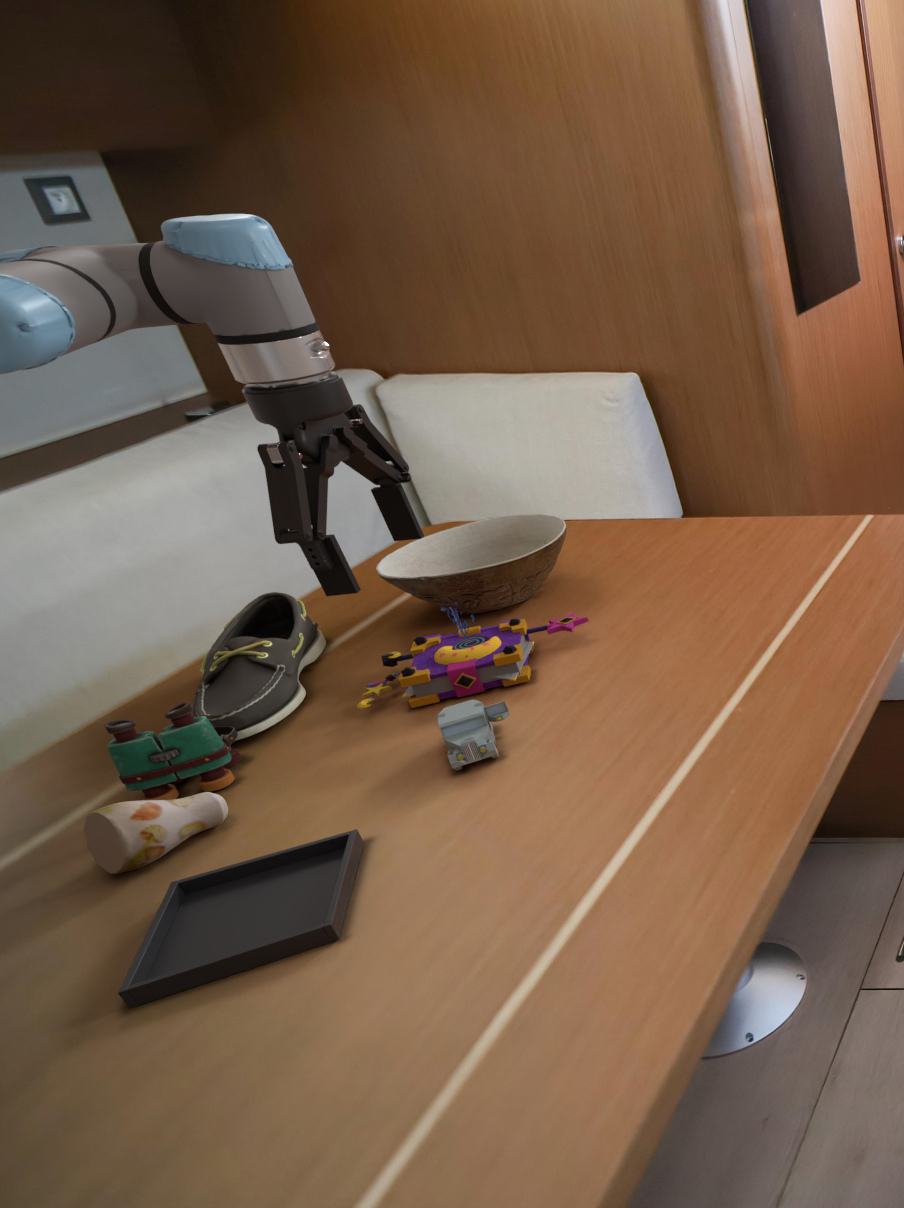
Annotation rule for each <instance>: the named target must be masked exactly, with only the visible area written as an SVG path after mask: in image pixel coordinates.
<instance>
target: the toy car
mask: <svg viewBox="0 0 904 1208" xmlns="http://www.w3.org/2000/svg"><path fill="white" fill-rule="evenodd" d="M436 716H437V724H438V729H439V731H440V733H441V736H442V739H443V741H444V744H445V745H446V748H447V750H448V751H447V753H446V755H447V759H448V762H449V764H450V767H451V769H452V770H453V769H454V771H461V770H463V767H464V766H465V765H468V764H469V765H470V764H473V763H476V762H478V761H481V760H485V759H487V758H492V759H497V758H499V757H500V754H499V750H498V745H497V741H496V736H495V733H494V727H493V725H492V723H498V722H502V721H504V720H506V719H507V718H508V717H510V716H511V713H510V711H509V708H508V706H507V703H506V701H505V700H503V701H500V702H495V703H493V704H489V705H484V702H483V701H479V700H477V699H469V700H466V701H463V702H459V703H456V704H452V705H449V706H446V707H443V709H441V711H439V713H438V714H437V715H436Z"/></svg>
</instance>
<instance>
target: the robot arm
mask: <svg viewBox="0 0 904 1208" xmlns="http://www.w3.org/2000/svg"><path fill="white" fill-rule="evenodd" d="M160 230H161V232H162V240H159V241H153V242H152V241H151V242H143V243H142V242H139V243H114V244H113V243H112V244H85V245H62V244H47V245H43V246H38V247H30V248H21V249H11V250H10V249H9V250H7V251H3V252H1V253H0V375H5V374H6V375H7V374H12V373H14V372H15V373H16V372H19V371H25V370H33V369H37V368H40V367H43V366H46V365H48V364H50V363H52V362H54V361H55V360H57V359H59V358H61V357H63V356H65V355H68V354H71V353H73V352H76V351H77V350H80V349H83V348H85V347H88V346H90V345H93V344H96V343H98V342H101V341H104V340H106V339H110V338H111V337H114V336H117V335H120V334H122V333H125V332H128V331H132V330H136V329H146V328H147V329H148V328H158V327H168V326H180V325H185V326H186V325H197V324H202V323H206V324H207V327H208V328H209V329H210V331H211V332H212V334H213V336H214V338H215V340H216V342H217V345H218V346H219V349H220V351H221V353H222V355H223V357H224V359H225V362H226V363H227V366H228V368H229V370H230V372H231V374H232V376H233V379H234V380H235V381H236V382H238V383H241V384H245V385H244V386H243V388H242V389H241V393H242V395H243V397H244V398H245V400H246V403H247V405H248V407H249V408H250V411H251V413H252V415H253V417H254V418H255V420H256V421H257V422H259V423H260V424H264V425H269V426H272V427H273V428H275V430H276V432H277V435H278V442H271V443H260V444H258V445H257V447H256V450H257V453H258V455H259V458H260V460H261V463H262V465H263V468H264V473H265V479H266V480H265V481H266V487H267V493H268V501H269V507H270V515H271V521H272V528H273V529H272V530H273V536H274V540H275V542H276V543H277V544H278V545H287V544H288V545H289V544H297V545H298V546H299V547H300V550H301V552H302V553H303V555H304V557H305V559H306V561H307V562H308V565H309V567H310V568H311V570H312V571H313V573H314V575H315V577H316V579H317V581H318V582H319V585H320V586H321V588H322V590H323V593H324V594H325V596H326V597H334V596H335V597H336V596H343V595H352V594H353V595H354V594H358V593H359V592H360V591H362V589H361V586H360V584H359V583H358V581H357V578H356V576H355V575H354V572H353V571H352V568H351V566H350V564H349V562H348V560H347V558H346V556H345V554H344V552H343V550H342V548H341V546H340V543H339V542H338V540H337V538H336V535H335V534H333V533H332V534H327V526H328V525H327V523H328V521H327V520H328V499H329V496H328V495H329V479H330V478H331V477H333V476H334V474H335V468H337V467H338V466H339V465H340V463H341V462H342V463H343V464H344V465H346V466H348V467H349V468H350V469H352V470H353V471H354V472H356V473H357V474H359V475H360V476H362V477H363V478H365V479H366V480H367V481H369V482H371V483H372V484H373V485H375V486H376V487H375V486H374V487H373V488H371V489H370V492H371V494H372V496H373V498H374V501H375V503H376V504H377V507H378V509H379V511H380V514H381V517H382V518H383V520H384V523H385V524H386V527H387V529H388V531H389V533H390V535H391V537H392V540H393V541H394V542H401V541H414V540H418V539H421V538H424V537H425V534H424V532H423V530H422V527H421V525H420V523H419V521H418V518H417V516H416V514H415V512H414V510H413V508H412V505H411V503H410V501H409V498H408V496H407V493H406V491H405V489H404V486H403V484H407V483H408V484H409V483H412V482H411V481H412V476H411V474H410V472H409V471H410V466H409V464H408V462H407V461H406V460H405V459H404V458H403V457H402V456H401V454H400V453H399V452H398V451H397V450H396V448H395V447H394V446H393V445H392V444H391V443H390V442H389V441H388V440H387V438H386V437H385V436H384V434H383V433H381V432H380V430H379V429H378V428H377V427H376V425H375V424H374V423H373V422H372V421H371V419H370V417H369V415H368V413H367V412H366V410H365V407H364V406H363V405H362V404H360V403H356V404H354V402H353V399H352V397H351V395H350V392H349V390H348V388H347V386H346V384H345V382H344V379H343V377H342V375H340V374H339V373H337V372H335V371H332V370H333V369H334V368H335V367H336V363H335V361H334V359H333V356H332V354H331V352H330V350H331V346H330V344H329V343H328V342H326V341H325V339H324V336H323V335H322V332H321V331H320V327H319V324H318V322H317V321H316V318H315V316H314V314H313V311H312V309H311V306H310V304H309V302H308V299H307V297H306V295H305V293H304V290H303V288H302V286H301V283H300V280H299V279H298V276H297V273H296V270H295V269H294V264H293V261H292V259H291V258H290V257H289V256H288V254H287V252H286V251H285V248H284V246H283V245H282V243H281V241H280V240H279V237H278V235H277V234H276V232H275V230H274V227H273V226H272V225H271V224H270V223H269V222H268V221H267V220H266V219H264V218H263V217H261V216H259V215H254V214H249V213H248V214H247V213H219V214H211V215H193V216H181V217H176V218H175V217H174V218H170V219H167V220H164V221H163V222H162V223H161V225H160Z"/></svg>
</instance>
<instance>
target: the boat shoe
mask: <svg viewBox="0 0 904 1208" xmlns="http://www.w3.org/2000/svg"><path fill="white" fill-rule="evenodd" d="M318 627H319V624H318V623H317V622H315V621H313V620H312V619H311V618H310V616H309V615H308V614H307V610H306V607H305V604H304V602H303V601H302V600H300V599H297V598H296V597H295V596H292V595H290V594H288V593H284V592H277V591H272V592H267V593H264V594H263V593H262V594H260V595H258V596H257V597H256V598H254V599H253V600H252V601H250V602H249V603H247V604H246V605H245V606H244V607H243V608H242V609H241V610H240V611H239V612H237V613H236V615H234V616H233V617H231V619H230V620H229V621H228V622H227V623H226V624H225V625H224V626H223V630H222V632H221V633H220V634H219V636H218V637H217V638H216V640H215V642H214V643H213V644H212V645H211V647H210V649H209V651H207V652H206V654H205V655H204V656H203V660H202V663H201V667H200V669H199V671H200V672H199V673H200V674H201V675H202V677H201V679H200V681H199V683H198V684H197V686H196V690H195V696H194V699H193V702H192V710H193V711H192V716H193V718H195V717H199V716H205V717H206V718H207V719H208V720H209V721H210V723H211V725H212V726H213V727H222V726H231V727H234V728H235V729H236V731H237V733H238V736H237V738H236V739H235V741H234V742H236V741H239V740H243V739H246V738H249V737H251V736H254V735H256V734H259V733H261V732H263V731H265V730H267V729H269V728H271V727H273V726H274V725H276V724H277V723H280V722H281V721H282V720H284V719H285V718H287V717H288V716H289V715H290V714H292V712H294V711H295V710H296V709H297V708H298V707H299V706H300V705H301V703H302V702H303V701H304V700H305V698H306V695H307V690H306V688H305V687H304V686H303V685H302V684H301V682H300V680H299V678H300V674H301V672H302V670H303V669H304V668H305V667H306V666H308V665H311V664H313V663H314V662H315V661H316V660H317V659H318V658H319V657H320V655H321V654H322V652H323V651H324V650H325V648H326V646H327V641H326V638H325V637H324V635H323V633H322V632H321V630H320V629H319V628H318ZM218 735H219V737H220V736H221V735H222V734H218ZM223 735H224V736H225V737H226V736H227V735H228V734H223Z"/></svg>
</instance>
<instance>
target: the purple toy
mask: <svg viewBox="0 0 904 1208" xmlns="http://www.w3.org/2000/svg"><path fill="white" fill-rule="evenodd" d="M451 596H452V595H451ZM453 599H454V598H453ZM445 600H446V599H445ZM457 604H458V603H457V602H455V605H457ZM442 605H443V604H442ZM450 608H451V607H450ZM455 610H456V609H455ZM440 611H442V612H446V615H447V618H449V620H451V622H452V623H453V624H456V625H455V626H456V627H457V629H458V631H457V633H455V634H454V633H452V632H451V631H449V632H450V635H445V636H442V634H440V633H438V634H435V635H434V634H433V635H428V636H416V637H415V638H414V639H413V642H412V645H411V647H410V651H409V652H410V653H407V654H402V653H401V652H400V651H391V652H389V653H385V654H382V655H380V656H381V657H380V658H381V661H382V666H383V667H388V668H394V667H396V666H398V662H403V661H408V660H411V659H412V662H411V665H410V667H407V666H406V667H405V668H403V669H402V668H401V669H402V670H401V671H400V672H398V673H397V672H395V673H393V674H388V675H387V676H386V677H384V679H385V680H382V681H381V682H372V683H368V684H367V685H366V687H365V691H366V692H365V693H363V694H361V696H362V698H363V700H361V701H359V702H358V704H357V708H358V709H368V708H369V707H371V706H372V704H369V703H371V702H373V701H375V698H373V697H374V696H376V697H380V696H381V694H382V693H383V692H387V691H390V690H393V688H392V686H391V685H388V686H387V683H389V682H390V683H391V682H393V681H395V680H396V679H397V677H398V676H399V677H398V682H399V684H400V686H401V688H406V687H407V689H406V690H405V692H404V693H403V695H402V696H401V697H402V699H405V698H408V697H410V698H409V700H408V703H409V705H410V707H411V709H414V708H418V707H423V706H426V705H431V704H436V703H440V702H441V700H444V699H448V698H453V697H456V696H457V698H461V697H467V696H470V695H475V694H479V693H483V692H486V690H488V689H492V688H497V687H500V686H501V687H502V686H503V687H504V688H505V687H509V686H514V685H518V684H523V683H526V682H530V679H531V673H532V670H531V667H530V664H529V658H530V654H534V646H535V645H534V644H535V641H533V640H531V638H530V635H531V634H535V633H540V632H545V631H546V632H547V635H551V634H555V633H560V632H564V631H565V632H569V633H574V631H575V627H578V626H581V625H583V624H586V623H588V622H590V620H589V617H588V616H583V617H582V616H576V615H575V613H574V612H571V613H570V614H568V615H566V616H564V617H562V618H554V619H549V620H548V623H547V624H546V625H541V626H537V627H536V626H535V627H530V628H528V624H527V621H526V618H522V617H519V618H511V619H510V620H509V619H508V620H505V621H500V623H499V624H498V625H497V624H496V625H493V626H488V627H484V628H483V627H482V626H480V625H477V626H476V623H475V615H474V614H470V618H471V619H470V621H471V622H472V624H473V626H472V627H469V624H468V622H467V621H466V619H463V618H461V621H460V617H459V612H458V611H457V612H456V611H454V608H453V609H452V608H451V610H448V609H447V608H442V607H440ZM450 611H451V612H450ZM460 612H461V611H460ZM450 615H451V616H452V617H453V618H451V617H450ZM460 615H463V613H462V612H461V613H460ZM385 685H386V686H385ZM367 697H368V698H367Z"/></svg>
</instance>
